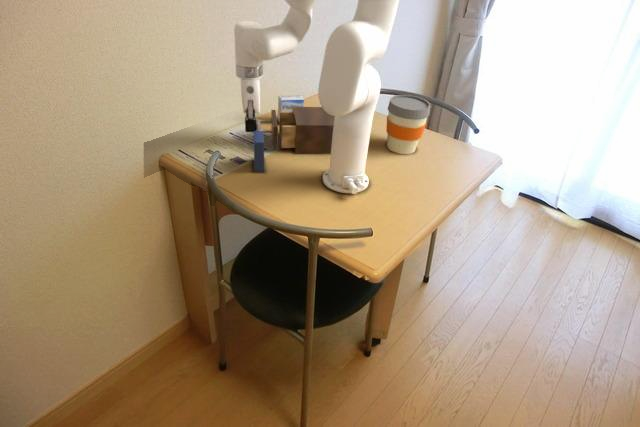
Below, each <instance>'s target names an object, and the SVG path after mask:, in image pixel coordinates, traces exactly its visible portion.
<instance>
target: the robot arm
mask: <svg viewBox="0 0 640 427" xmlns="http://www.w3.org/2000/svg"><path fill="white" fill-rule="evenodd" d="M284 1H285V2H286V4H288V5H289V6H290V7H289V9H288V12H287V13H286V15H285V17H284V18H283V20H282V22H281V23H280V24H277V25H272V26H269V27H265V28H264V27H263V26H262V24H260V23H259V22H257V21H253V20H252V21H251V20H243V21H238V22H237V23H236V24H234V28H233V30H234V54H235V55H234V56H235V57H234V59H235V77H237V78H238V79H240V94H241V97H240V98H241V105H242V112H243V113H244V114H245V117H244V131H245V132H246V133H254V131H256V120H257V117H256V114H258V115H259V114H261V79H262V78H264V62H265V61H270V60H271V61H272V60H274V59H278V58H279V57H283V56H286V55H289V54H291V53H293V52H294V51H296V50H297V49H298V48H299V46H300V45H301V44H302V42H303V41H304V39H305V37H306V36H307V34H308V33H309V30H310V29H311V25H312V21H313V15H314V14H313V8H314V6H315V4H316V2H317V1H318V0H284ZM399 3H400V0H357V4H356V9H355V12H354V15H353V18H352V19H351V20H350V21H347V22H344V23H342V24H340V25H338V26H337V27H336V28H335V29H334V30H333V31H332V32H331V34H330V35H329V38H328V40H327V42H326V46H325V51H324V55H323V60H322V66H321V71H320V76H319V82H318V89H317V90H318V91H317V92H318V93H317V95H318V100H319V104H320V107H322V108H323V109H324V110H325V111H326V112H327V113H328V114H330V115H332V116H335V119H334V126H333V136H332V147H331V154H330V157H329V167H328V169H326V170H325V171H324V172H323V174H322V182H323V184H324V185H325V186H326V187H327V188H328V189H330V190H332V191H335V192H337V193H342V194H352V195H356V194H358V193H360V192H362V191H364V190H366V189H367V188H368V186H369V183H370V178H369V177H368V175H367V174H366V172H365V171H366V166H367V158H368V151H369V146H370V140H371V138H370V137H371V132H372V126H373V120H374V115H375V111H376V108H377V104H378V102H379V97H380V93H381V88H382V82H381V77H380V74H379V72H378V71H377V69H376V68H375V67H373V65H371V64H372V63H373V62H375V61H377V60H379V59H381V57H383V56H384V55H385V53H386V51H387V49H388V45H389V41H390V38H391V34H392V30H393V27H394V22H395V20H396V15H397V11H398V7H399Z"/></svg>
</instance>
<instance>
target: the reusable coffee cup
mask: <svg viewBox="0 0 640 427" xmlns="http://www.w3.org/2000/svg"><path fill="white" fill-rule="evenodd" d="M387 111H388V115H387V116H386V133H387V138H386V139H387V140H386V147H387V149H388V150H390V151H391V152H393V153H396V154H401V155H409V154H412V153H415V151H416V149H417V146H418V143H419V141H420V139H421V138H422V137H423V134H424V131H425V128H426V126H427V120H428V117H430V111H431V103H430V102H429V101H428V100H427V99H425V98H423V97H420V96H416V95H410V94H397V95H394V96H393V95H392V96H391V97H390V98H389V103H388V106H387Z"/></svg>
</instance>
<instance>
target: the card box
mask: <svg viewBox="0 0 640 427" xmlns="http://www.w3.org/2000/svg"><path fill="white" fill-rule="evenodd" d="M253 161H254V162H253V167H254V173H264V172H265V136H264V133H263V131H254V132H253Z"/></svg>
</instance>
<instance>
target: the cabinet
mask: <svg viewBox="0 0 640 427" xmlns="http://www.w3.org/2000/svg"><path fill="white" fill-rule="evenodd" d="M292 112H293V114H294V119H295V123H296V143H295V148H293V149H294V153H295V154H297V155H299V154H306V155H308V154H311V155H312V154H314V155H315V154H317V155H318V154H319V155H320V154H321V155H325V154H328V155H329V154H330V155H331V147H332V136H333V126H334V119H335V116H332V115H330V114H328V113H327V112H326V111H325V110H324V109H323V108H322V106H304V107H292Z"/></svg>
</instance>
